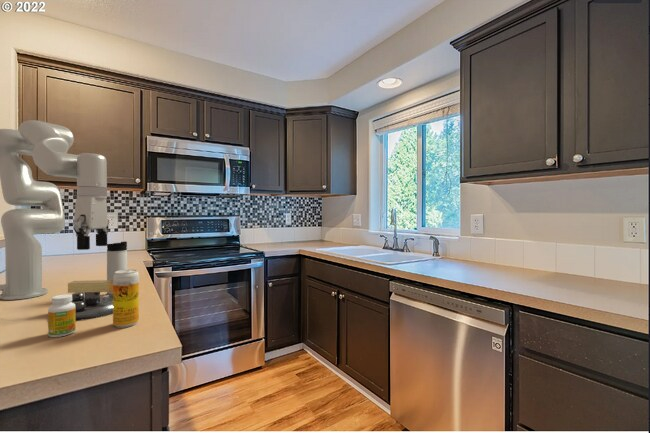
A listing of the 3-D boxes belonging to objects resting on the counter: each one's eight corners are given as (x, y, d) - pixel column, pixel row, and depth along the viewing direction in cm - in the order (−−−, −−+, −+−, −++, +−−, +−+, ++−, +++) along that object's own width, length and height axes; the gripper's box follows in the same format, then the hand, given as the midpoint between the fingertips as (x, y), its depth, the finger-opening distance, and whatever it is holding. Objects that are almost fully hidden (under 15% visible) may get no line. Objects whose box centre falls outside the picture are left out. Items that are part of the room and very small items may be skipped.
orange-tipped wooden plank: (67, 305, 95) (66, 283, 95) (75, 301, 99) (75, 280, 99) (114, 304, 97) (114, 282, 97) (120, 300, 101) (120, 279, 101)
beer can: (111, 329, 83) (111, 274, 83) (114, 322, 88) (114, 270, 88) (137, 326, 86) (138, 272, 85) (139, 319, 91) (139, 268, 91)
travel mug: (117, 297, 112) (117, 242, 112) (102, 296, 114) (102, 241, 113) (131, 293, 118) (131, 240, 118) (117, 291, 120) (117, 240, 119)
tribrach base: (38, 321, 88) (38, 305, 88) (78, 302, 106) (78, 289, 106) (108, 318, 91) (108, 303, 91) (135, 300, 109) (135, 288, 109)
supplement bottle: (52, 339, 76) (52, 300, 76) (44, 334, 79) (44, 297, 79) (79, 332, 81) (79, 295, 81) (70, 328, 84) (70, 292, 84)
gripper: (95, 194, 105) (95, 244, 106) (60, 191, 88) (60, 251, 89) (119, 194, 107) (119, 244, 107) (89, 191, 89) (89, 250, 90)
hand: (93, 247), depth 98 cm, fingers open, 9 cm apart
